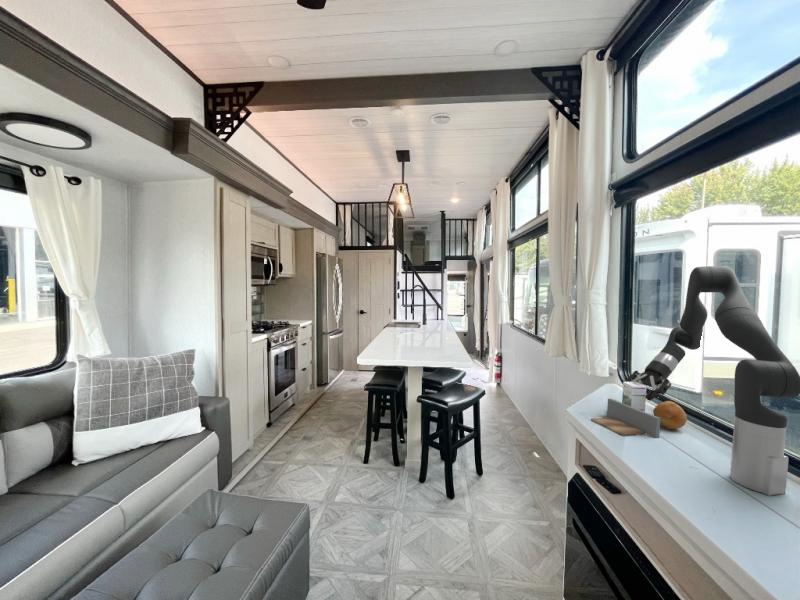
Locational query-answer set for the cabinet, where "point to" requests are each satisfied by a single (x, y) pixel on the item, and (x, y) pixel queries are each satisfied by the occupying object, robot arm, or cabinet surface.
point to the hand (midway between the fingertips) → (637, 395)
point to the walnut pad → (618, 426)
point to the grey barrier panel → (634, 417)
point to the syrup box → (634, 395)
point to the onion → (670, 415)
